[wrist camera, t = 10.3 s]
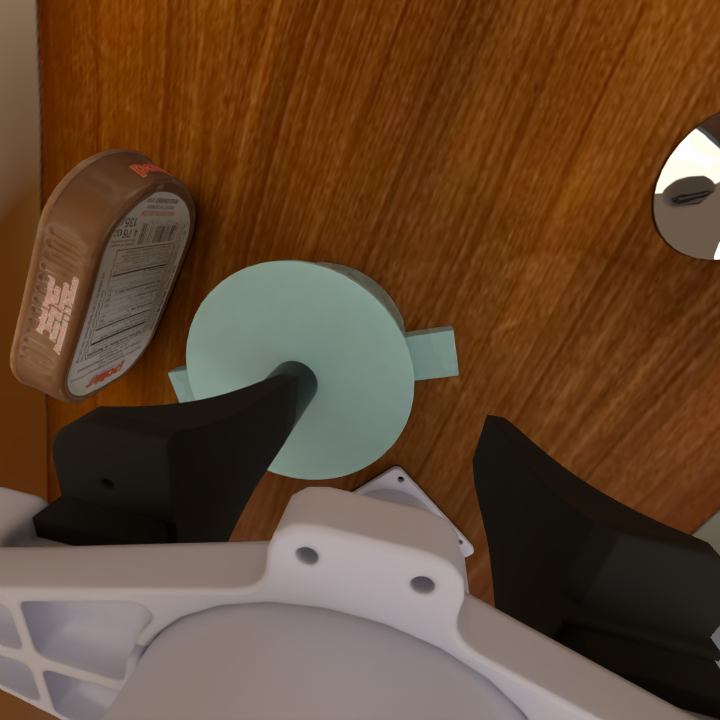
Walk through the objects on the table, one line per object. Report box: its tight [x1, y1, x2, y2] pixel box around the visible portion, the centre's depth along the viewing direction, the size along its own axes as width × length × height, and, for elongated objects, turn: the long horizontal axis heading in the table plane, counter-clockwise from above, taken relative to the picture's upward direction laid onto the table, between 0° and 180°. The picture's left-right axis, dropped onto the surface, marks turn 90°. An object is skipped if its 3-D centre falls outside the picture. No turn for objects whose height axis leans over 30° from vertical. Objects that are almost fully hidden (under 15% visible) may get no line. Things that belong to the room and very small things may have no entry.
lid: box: [186, 260, 414, 480], centre depth 17 cm, size 12×12×5 cm
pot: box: [168, 262, 459, 403], centre depth 21 cm, size 11×16×6 cm
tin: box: [10, 149, 196, 403], centre depth 20 cm, size 15×3×8 cm, turn 149°
